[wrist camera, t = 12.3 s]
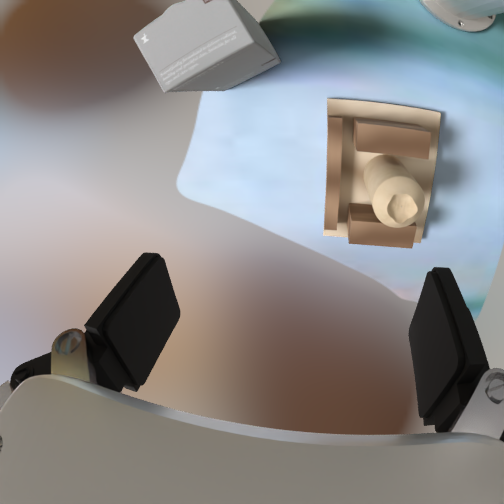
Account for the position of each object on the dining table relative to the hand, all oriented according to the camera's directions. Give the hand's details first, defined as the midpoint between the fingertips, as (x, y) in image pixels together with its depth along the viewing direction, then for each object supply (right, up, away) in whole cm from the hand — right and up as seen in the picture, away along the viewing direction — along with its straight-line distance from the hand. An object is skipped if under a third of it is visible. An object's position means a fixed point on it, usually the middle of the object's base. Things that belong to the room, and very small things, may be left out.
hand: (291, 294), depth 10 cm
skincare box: (-3, +25, +20) cm, 32 cm away
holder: (+15, +11, +24) cm, 31 cm away
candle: (+15, +11, +23) cm, 30 cm away
